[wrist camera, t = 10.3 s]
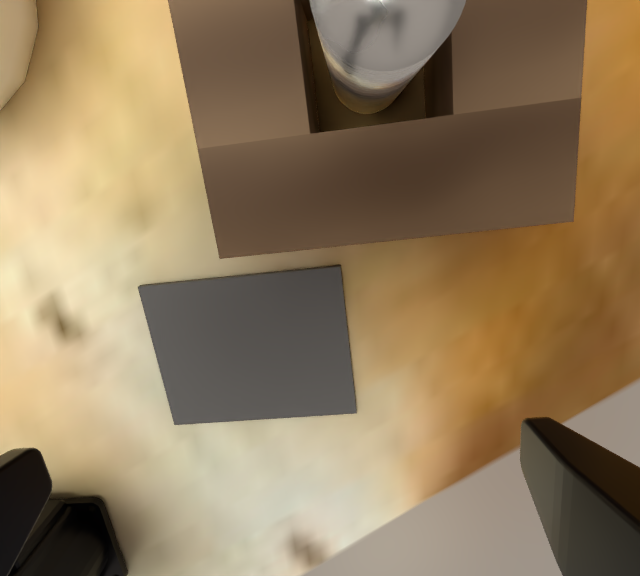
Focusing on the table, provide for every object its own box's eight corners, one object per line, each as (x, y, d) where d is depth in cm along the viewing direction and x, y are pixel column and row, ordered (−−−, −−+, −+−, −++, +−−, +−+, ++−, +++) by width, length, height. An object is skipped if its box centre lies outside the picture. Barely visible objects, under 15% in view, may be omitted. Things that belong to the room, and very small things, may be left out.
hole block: (516, 203, 18) (573, 221, 14) (251, 232, 20) (219, 258, 15) (523, -138, 15) (603, -273, 10) (197, -76, 16) (134, -170, 11)
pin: (406, 108, 18) (471, 59, 8) (335, 118, 18) (318, 81, 8) (402, 27, 17) (469, -135, 7) (327, 39, 17) (297, -101, 8)
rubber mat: (356, 410, 22) (356, 413, 22) (176, 421, 23) (174, 424, 23) (340, 265, 20) (340, 266, 20) (140, 285, 21) (137, 287, 21)
